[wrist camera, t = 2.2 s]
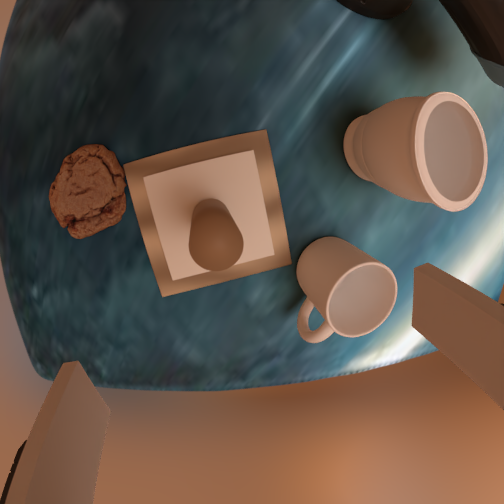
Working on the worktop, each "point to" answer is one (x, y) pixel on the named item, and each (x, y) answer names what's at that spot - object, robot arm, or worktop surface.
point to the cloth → (193, 155)
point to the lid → (210, 214)
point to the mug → (343, 289)
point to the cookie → (89, 191)
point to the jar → (421, 149)
